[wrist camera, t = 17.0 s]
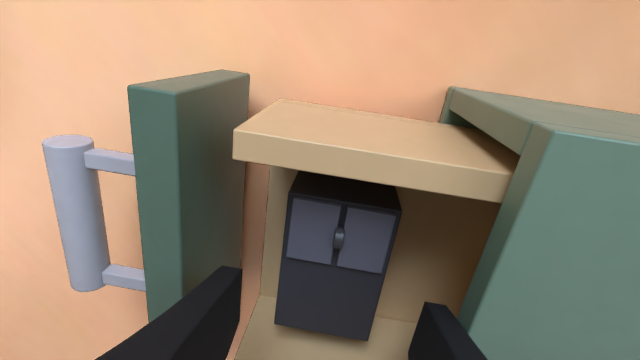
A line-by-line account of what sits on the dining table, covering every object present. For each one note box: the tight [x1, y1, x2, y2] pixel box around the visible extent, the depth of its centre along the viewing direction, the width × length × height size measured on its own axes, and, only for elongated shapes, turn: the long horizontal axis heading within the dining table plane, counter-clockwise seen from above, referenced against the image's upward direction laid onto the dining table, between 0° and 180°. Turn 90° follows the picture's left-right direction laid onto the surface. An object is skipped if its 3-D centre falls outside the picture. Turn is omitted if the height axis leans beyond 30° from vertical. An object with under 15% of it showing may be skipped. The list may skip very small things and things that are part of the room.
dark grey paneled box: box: [274, 170, 402, 341], centre depth 12 cm, size 4×6×4 cm, turn 172°
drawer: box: [42, 70, 521, 360], centre depth 12 cm, size 17×11×6 cm, turn 82°
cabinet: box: [439, 86, 640, 360], centre depth 12 cm, size 14×13×8 cm
